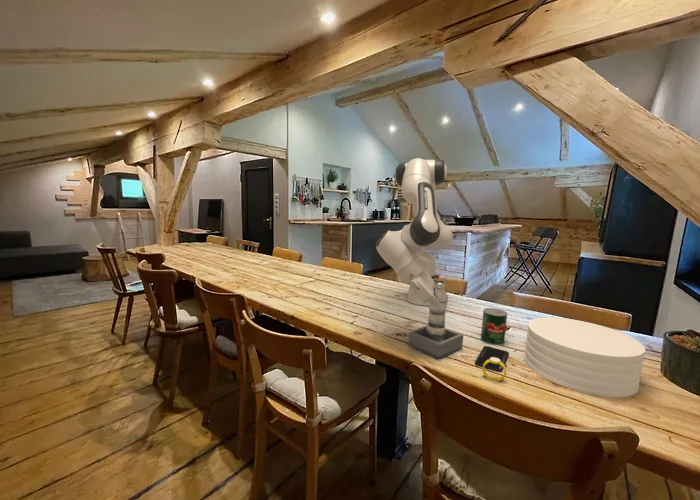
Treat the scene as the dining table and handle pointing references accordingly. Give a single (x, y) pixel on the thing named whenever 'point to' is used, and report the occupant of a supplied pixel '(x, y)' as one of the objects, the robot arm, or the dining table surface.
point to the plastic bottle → (437, 313)
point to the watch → (494, 361)
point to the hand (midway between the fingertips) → (440, 303)
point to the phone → (487, 354)
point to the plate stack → (584, 356)
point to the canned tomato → (493, 326)
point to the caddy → (435, 343)
